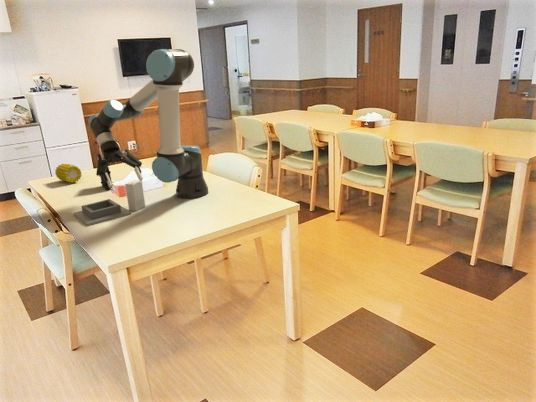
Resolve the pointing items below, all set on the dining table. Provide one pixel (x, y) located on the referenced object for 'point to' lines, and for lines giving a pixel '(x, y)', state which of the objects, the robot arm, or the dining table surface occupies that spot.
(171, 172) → the robot arm
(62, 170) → the food
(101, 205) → the dock
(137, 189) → the skincare box
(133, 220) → the dining table surface
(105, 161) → the black knobby slab
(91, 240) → the dining table surface
